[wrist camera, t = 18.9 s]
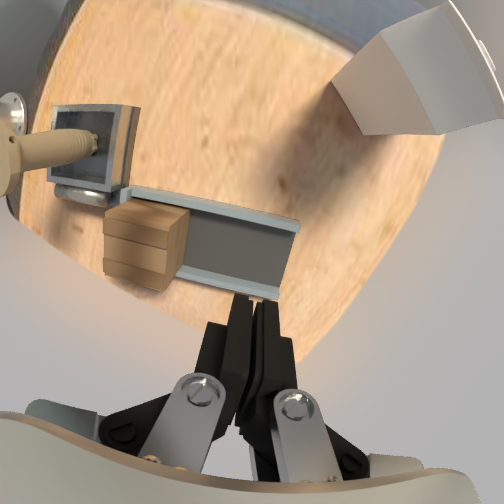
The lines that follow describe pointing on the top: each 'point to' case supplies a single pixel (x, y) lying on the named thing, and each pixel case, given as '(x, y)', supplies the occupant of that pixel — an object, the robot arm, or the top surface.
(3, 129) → the handle
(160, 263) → the crate
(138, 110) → the gray square tray
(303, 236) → the top surface
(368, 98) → the milk carton
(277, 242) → the bay
